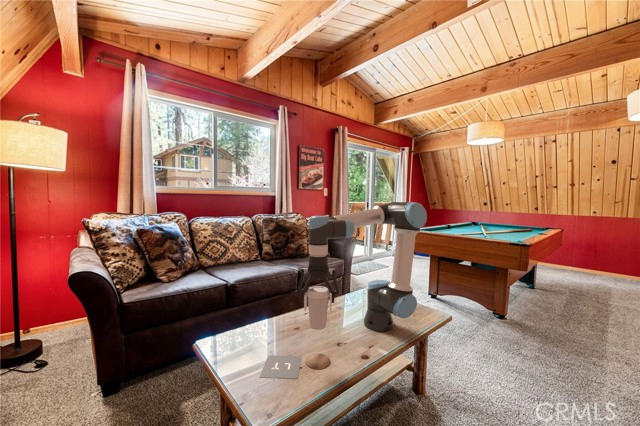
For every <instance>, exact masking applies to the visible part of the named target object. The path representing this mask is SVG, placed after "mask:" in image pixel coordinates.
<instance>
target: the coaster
mask: <svg viewBox="0 0 640 426" xmlns="http://www.w3.org/2000/svg"><path fill="white" fill-rule="evenodd" d="M330 364H331V359H330V357H329V356H327V355H326V354H324V353H312V354H310V355H308V356H306V358H305V365H306V366H307V367H308V368H310V369H313V370H323V369H326V368H327V367H329V365H330Z"/></svg>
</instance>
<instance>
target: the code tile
mask: <svg viewBox="0 0 640 426" xmlns="http://www.w3.org/2000/svg"><path fill="white" fill-rule="evenodd" d="M301 361H302V356H299V355H298V356H297V355H271V354H268V355H267V358H266V360H265V362H264V364H263V367H262V370H261V372H260V374H259V378H264V379H267V378H268V379H292V380H293V379H295V380H297V379H298V376H299V373H300V372H299V370H300V366H301Z"/></svg>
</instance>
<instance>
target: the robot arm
mask: <svg viewBox="0 0 640 426" xmlns="http://www.w3.org/2000/svg"><path fill="white" fill-rule="evenodd" d="M427 215H428V214H427V210H426V209H425V208H424V205H422V204H421V203H419V202H414V201H391V202H388V203H384V204H380V205H375V206H373V207H372V208H370V209H366V210H359V211H355V212H348V213H345V214H344V213H343V214H339V215H334V216H327V215H312V216H310V217H309V221H308V254H309V256H308V267H301V269H300V278H299V282H298V286H297V288H296V289H297V290H296V293H297V294H300V295H301V296H300V297H301V298H300V299H301V303H303V306H304V307H303V312H307V307H308V296H307V295H306V293H307V291H308V289H309V286H310V284H311V282H312V281H313V279H316V280H317V279H321V280H323V281H324V283H325V284H326V288H328V291H329V292H330V296H329V313H332V305H333V304H335V296H336V295H338V294H340V289H339V286H338V281H337V277H336V268H335V267H334V268H329V263H328V260H329V257H328V253H329V249H328V248H329V240H337V239H344V240H345V239H349V238H352V237H353V236H354V235H355V229H357V228H361V227H367V226H369V225H370V226H371V225H374V224H375V225H377V226H378V225H394V230H395V231H396V238H395V246H394V247H395V249H394V257H393V266H392V274H391V281H389V280H386V279H378V280H377V279H376V280H370V281H369V282H368V284H367V289H366V290H367V310H366V311H365V315H364V318H363V325H364V326H365V328H367V329H369V330H371V331H375V332H388V331H391V330H392V329H393V328H394V320H393V316H395V317H398V318H400V319H407V318H409V317H411V316H412V315H413V314H414V312H415V311H416V309H417V306H418V301H417V297H416V296H415V295H414V294H413V293H414V292H413V291H414V288H413V287H412V286H411V282H412V281H411V279H412V270H413V264H414V263H413V262H414V255H415V254H414V253H415V243H416V236H417V234H419V233H420V231H421V228H423V227H424V226H425V225H426V223H427V219H428V216H427ZM307 272H308V273H309V274H310V276H309V277H308V279H307V281H306V283H305V285H304V287H303V289H302V286H303V283H304V278H305V275H306V274H307ZM328 272H329V273H330V275H331V278H332V282H333V286H334V288H333V286H332V284H331V283H330V281H329V278H328ZM334 289H335V290H334ZM392 315H393V316H392Z"/></svg>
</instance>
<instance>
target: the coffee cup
mask: <svg viewBox="0 0 640 426" xmlns="http://www.w3.org/2000/svg"><path fill="white" fill-rule="evenodd" d="M305 293H306V295H307V307H308V319H309V328H311V329H312V330H317V331H321V330H323V329H326V327H327V320H328V318H327V317H328V309H329V301H330V291H329V289H328V287H327V286H326V287H325V286H321V285H315V286H310V287H308V288H307V290H306V292H305Z"/></svg>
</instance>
